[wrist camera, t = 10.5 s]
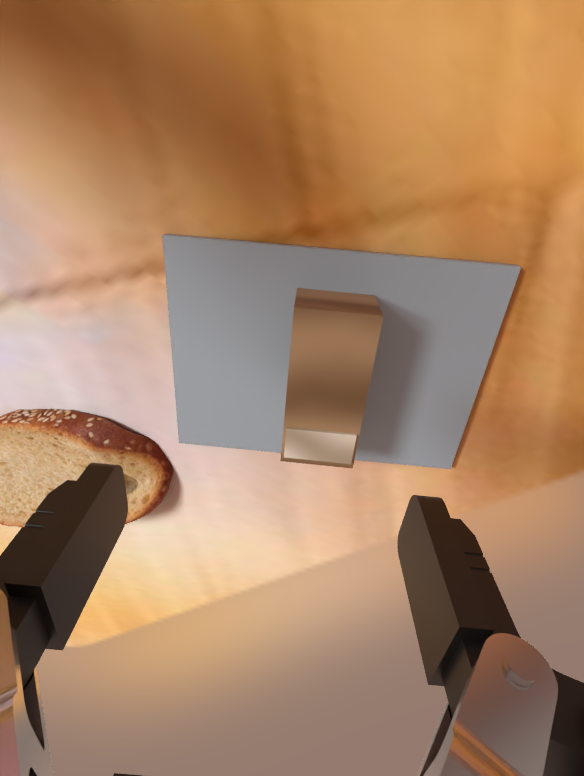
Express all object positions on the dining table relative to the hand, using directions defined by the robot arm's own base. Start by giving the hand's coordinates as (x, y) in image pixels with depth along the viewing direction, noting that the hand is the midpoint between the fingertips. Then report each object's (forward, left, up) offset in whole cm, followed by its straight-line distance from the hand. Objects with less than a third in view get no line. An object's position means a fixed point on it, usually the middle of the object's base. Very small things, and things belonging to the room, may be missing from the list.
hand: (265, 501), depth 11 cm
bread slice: (-20, -18, -19) cm, 33 cm away
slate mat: (+2, -4, -18) cm, 19 cm away
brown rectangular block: (+2, -4, -18) cm, 18 cm away
